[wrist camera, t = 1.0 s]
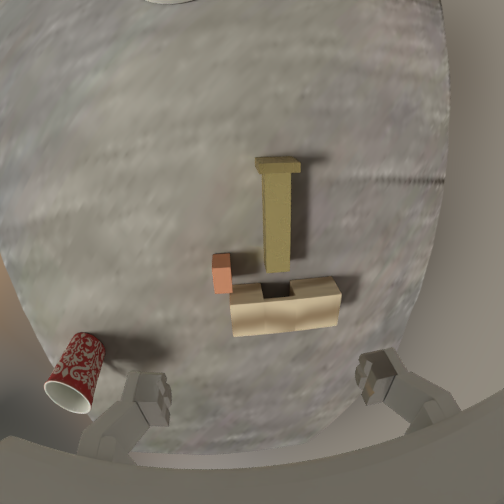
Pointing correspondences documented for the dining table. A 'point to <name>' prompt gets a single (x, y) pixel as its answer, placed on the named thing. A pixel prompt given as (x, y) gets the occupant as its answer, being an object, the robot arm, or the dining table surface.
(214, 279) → the orange block
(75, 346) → the mug
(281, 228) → the pin
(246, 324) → the block
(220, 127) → the dining table surface
